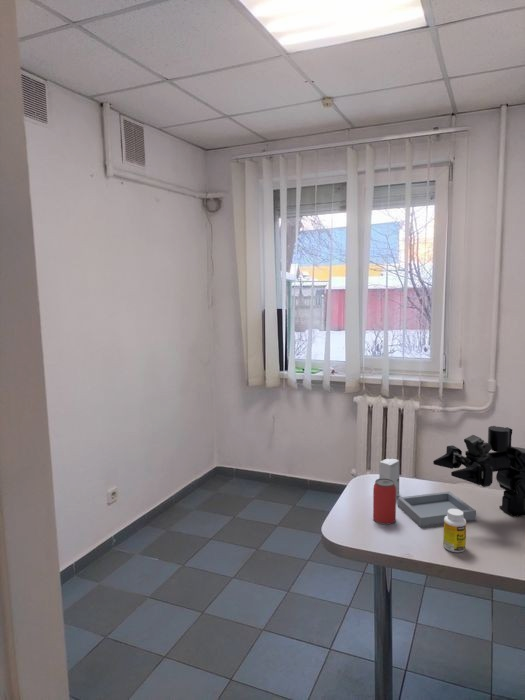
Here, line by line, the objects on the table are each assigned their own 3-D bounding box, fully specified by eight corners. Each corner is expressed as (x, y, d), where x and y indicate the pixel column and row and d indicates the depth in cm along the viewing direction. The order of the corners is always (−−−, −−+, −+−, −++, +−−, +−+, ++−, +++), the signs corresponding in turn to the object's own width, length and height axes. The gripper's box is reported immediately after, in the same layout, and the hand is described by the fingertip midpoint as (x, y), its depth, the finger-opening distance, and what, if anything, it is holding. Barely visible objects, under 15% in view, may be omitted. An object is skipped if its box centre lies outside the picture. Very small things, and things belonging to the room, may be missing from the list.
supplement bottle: (457, 555, 126) (458, 518, 125) (438, 546, 131) (439, 510, 129) (469, 549, 129) (471, 512, 128) (451, 540, 134) (452, 505, 132)
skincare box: (390, 500, 159) (390, 465, 157) (378, 496, 162) (378, 461, 160) (400, 494, 163) (400, 460, 161) (388, 491, 166) (388, 457, 165)
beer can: (399, 519, 146) (400, 481, 145) (388, 527, 141) (389, 488, 140) (380, 512, 151) (380, 475, 149) (369, 520, 146) (369, 482, 144)
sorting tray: (448, 500, 158) (448, 491, 158) (475, 520, 144) (476, 510, 144) (397, 506, 154) (397, 497, 154) (420, 527, 141) (420, 517, 140)
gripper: (470, 427, 153) (425, 432, 150) (512, 446, 135) (462, 452, 132) (469, 461, 155) (425, 466, 151) (510, 484, 137) (461, 491, 133)
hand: (442, 468), depth 142 cm, fingers open, 9 cm apart
